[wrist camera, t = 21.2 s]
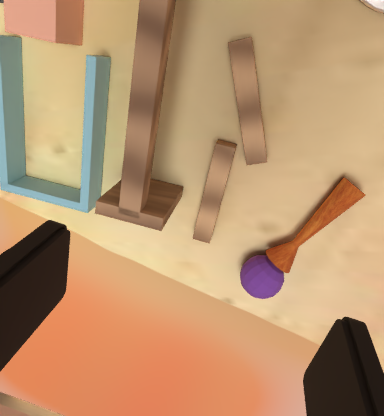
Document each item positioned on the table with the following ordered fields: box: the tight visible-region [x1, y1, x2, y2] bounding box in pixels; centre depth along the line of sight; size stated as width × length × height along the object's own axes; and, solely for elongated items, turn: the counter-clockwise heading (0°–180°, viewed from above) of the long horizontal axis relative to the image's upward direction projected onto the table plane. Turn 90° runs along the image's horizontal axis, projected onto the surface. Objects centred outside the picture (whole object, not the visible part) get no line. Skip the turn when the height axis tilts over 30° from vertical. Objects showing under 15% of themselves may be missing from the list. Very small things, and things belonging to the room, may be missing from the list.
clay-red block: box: [4, 0, 84, 45], centre depth 38 cm, size 6×6×6 cm
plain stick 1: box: [193, 140, 237, 243], centre depth 45 cm, size 14×2×2 cm, turn 168°
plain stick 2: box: [228, 37, 267, 165], centre depth 39 cm, size 14×2×2 cm, turn 12°
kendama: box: [240, 178, 365, 299], centre depth 44 cm, size 6×6×20 cm
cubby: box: [0, 35, 111, 213], centre depth 44 cm, size 20×13×4 cm, turn 169°
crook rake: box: [95, 0, 183, 231], centre depth 37 cm, size 28×8×10 cm, turn 169°
